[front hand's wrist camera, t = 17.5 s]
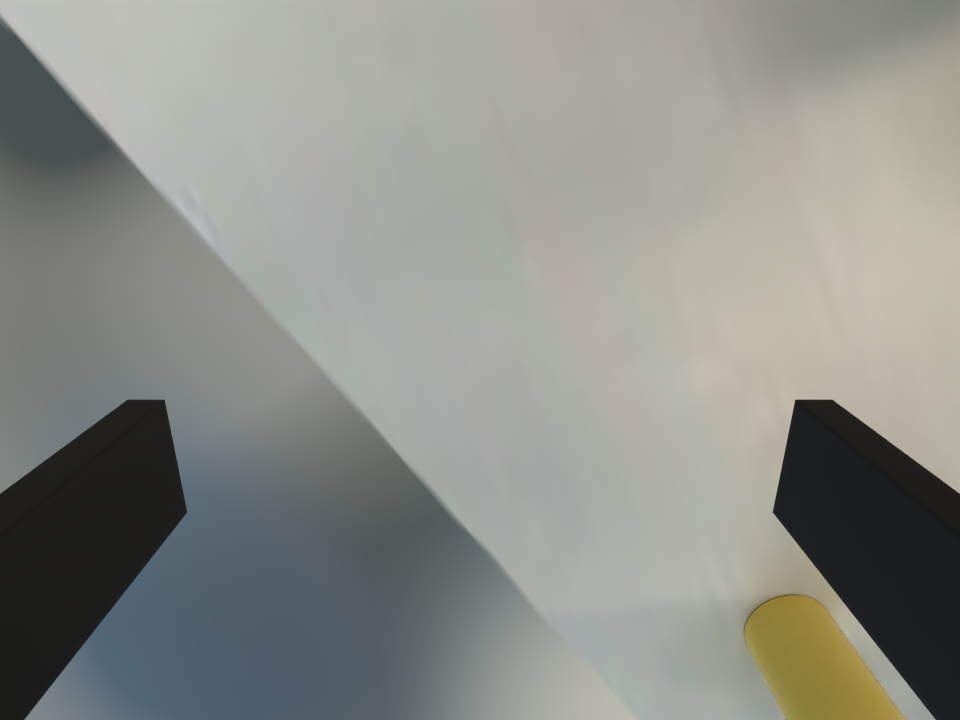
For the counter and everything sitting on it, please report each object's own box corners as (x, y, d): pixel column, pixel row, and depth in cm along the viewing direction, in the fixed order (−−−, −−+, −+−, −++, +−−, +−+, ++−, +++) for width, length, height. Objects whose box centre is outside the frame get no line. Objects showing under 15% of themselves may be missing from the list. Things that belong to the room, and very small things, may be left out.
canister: (837, 645, 44) (938, 791, 34) (755, 669, 45) (830, 818, 35) (819, 583, 42) (921, 719, 32) (734, 610, 43) (808, 750, 33)
